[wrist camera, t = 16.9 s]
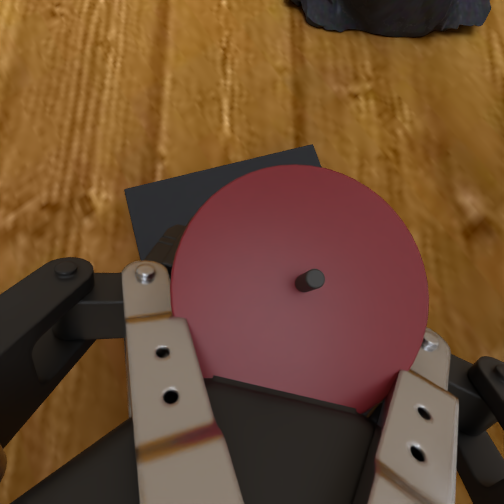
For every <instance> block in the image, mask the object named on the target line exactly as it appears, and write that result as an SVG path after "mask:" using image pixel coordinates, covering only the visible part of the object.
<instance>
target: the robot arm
mask: <svg viewBox="0 0 504 504" xmlns="http://www.w3.org/2000/svg"><path fill="white" fill-rule="evenodd" d="M193 217H194V216H192V217H191V219H192V218H193ZM191 219H190V220H189V222H190V221H191ZM189 222H188V223H187V224H186V226H183V225H178V224H177V225H175V226H172V227H170V228H168V229H167V230H166V232H165V233H164V234H163V236H162V237H161V238H160V240H159V241H158V243H156V245H155V246H154V247H153V249H152V250H151V251H150V253H149V254H148V255H147V256H146V258H145V259H144V260H143V261H136V262H133V263H131V264H129V265H127V266H126V267H125V268H124V269H123V271H122V272H121V273H94V271H93V266H92V265H91V263H90V262H88V261H86V260H84V259H81V258H75V257H67V258H60V259H56V260H53V261H50V262H48V263H46V264H45V265H43V266H42V267H40V268H39V269H37V270H36V271H34V272H33V273H31V274H30V275H29V276H27V277H26V278H24V279H23V280H21V281H20V282H18V283H17V284H15V285H14V286H12V287H11V288H9V289H8V290H6V291H5V292H4V293H2V294H1V295H0V482H1V480H2V478H3V476H4V473H5V470H6V464H7V459H6V455H5V452H4V450H3V448H4V447H5V446H6V445H7V444H8V443H9V441H10V440H11V439H12V438H13V437H14V436H15V434H16V433H17V432H18V431H19V430H20V429H21V427H22V426H23V425H24V424H25V423H26V421H27V420H28V419H29V418H30V417H31V416H32V414H33V413H34V412H35V411H36V410H37V409H38V407H39V406H40V405H41V404H42V403H43V402H44V400H45V399H46V398H47V397H48V396H49V395H50V393H51V392H52V391H53V390H54V389H55V387H56V386H57V385H58V384H59V383H60V382H61V380H62V379H63V378H64V377H65V376H66V375H67V373H68V372H69V371H70V370H71V369H72V368H73V366H74V365H75V364H76V363H77V362H78V360H79V359H80V358H81V357H82V356H83V355H84V353H85V352H86V351H87V350H88V349H89V348H90V346H91V345H92V344H93V343H94V342H95V341H96V339H112V338H124V349H125V364H126V379H127V398H128V415H129V419H127V420H126V421H124V422H123V423H122V424H120V425H119V426H117V427H116V428H115V429H113V430H112V431H110V432H109V433H108V434H106V435H105V436H104V437H102V438H101V439H99V440H98V441H97V442H95V443H94V444H92V445H91V446H90V447H88V448H87V449H85V450H84V451H83V452H81V453H80V454H78V455H77V456H76V457H74V458H73V459H71V460H70V461H69V462H67V463H66V464H64V465H63V466H62V467H60V468H59V469H58V470H56V471H55V472H53V473H52V474H51V475H49V476H48V477H46V478H45V479H44V480H42V481H41V482H39V483H38V484H37V485H35V486H34V487H32V488H31V489H30V490H28V491H27V492H25V493H24V494H23V495H21V496H20V497H18V498H17V499H16V500H14V501H13V502H12V503H10V504H455V487H456V469H457V471H458V473H459V475H460V477H461V479H462V481H463V483H464V485H465V487H466V490H467V492H468V494H469V496H470V498H471V500H472V502H473V504H504V459H503V458H502V456H501V454H500V453H499V451H498V450H497V448H496V446H495V445H494V443H493V441H492V440H491V438H490V437H489V435H488V433H487V432H486V430H487V429H488V428H489V427H491V426H492V425H493V424H495V423H496V422H497V421H498V422H499V424H500V425H501V427H502V428H503V430H504V363H503V362H502V361H500V360H497V359H495V358H492V357H487V356H484V357H481V358H479V359H478V360H477V361H476V362H475V363H474V364H471V363H469V362H467V361H465V360H463V359H461V358H458V357H456V356H454V355H452V354H451V351H450V348H449V346H448V344H447V343H446V342H445V340H444V339H443V338H442V337H441V336H439V335H438V334H437V333H435V332H434V331H432V330H431V329H429V328H427V327H426V331H425V334H424V338H423V341H422V344H421V348H420V350H419V352H418V354H417V356H416V359H415V361H414V363H413V365H412V366H411V368H410V369H409V371H405V370H402V369H400V371H399V373H398V375H397V376H396V378H395V380H394V382H393V384H392V386H391V388H390V390H389V392H388V394H387V396H386V398H384V399H383V400H382V401H381V402H380V403H379V404H377V405H375V406H374V407H372V408H371V409H369V410H368V411H366V412H365V413H362V414H360V413H358V412H357V410H356V408H352V407H348V406H344V405H339V404H335V403H331V402H326V401H322V400H318V399H314V398H309V397H305V396H301V395H297V394H292V393H288V392H284V391H279V390H275V389H271V388H267V387H262V386H258V385H254V384H250V383H245V382H241V381H237V380H232V379H228V378H224V377H220V376H215V375H213V378H203V376H202V372H201V369H200V365H199V361H198V358H197V354H196V351H195V347H194V344H193V340H192V337H191V333H190V330H189V326H188V322H187V319H186V318H182V317H177V316H173V315H172V310H171V302H170V281H171V271H172V266H173V261H174V257H175V253H176V250H177V247H178V245H179V242H180V240H181V237H182V235H183V233H184V231H185V229H186V228H187V226H188V224H189Z"/></svg>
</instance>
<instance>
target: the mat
mask: <svg viewBox="0 0 504 504" xmlns="http://www.w3.org/2000/svg"><path fill="white" fill-rule="evenodd" d="M295 164H296V165H310V166H316V167H321V165H320V162H319V160H318V157H317V154H316V152H315V149H314V146H313V144H312V145H307V146H303V147H299V148H295V149H291V150H286V151H282V152H278V153H274V154H270V155H266V156H261V157H257V158H253V159H249V160H245V161H241V162H236V163H232V164H228V165H224V166H220V167H215V168H211V169H207V170H203V171H199V172H195V173H190V174H186V175H182V176H178V177H174V178H170V179H165V180H161V181H157V182H153V183H149V184H144V185H140V186H136V187H132V188H128V189H125V190H124V191H125V195H126V200H127V204H128V208H129V213H130V217H131V221H132V225H133V230H134V234H135V238H136V243H137V247H138V251H139V256H140V260H141V261H143V260H144V259H145V258H146V256H147V255H148V254H149V253H150V251H151V250H152V249H153V247H154V246H155V245H156V243H158V241H159V240H160V238H161V237H162V236H163V234H164V233H165V232H166V230H167V229H168V228H170V227H172V226H175V225H177V224H178V225H183V226H186V224H187V223H188V222H189V220H190V219H191V217H192V216H194V215H195V214H196V212H197V211H198V210H199V208H200V207H201V206H202V205H203V204H204V203H205V202H206V201H207V200H208V199H209V198H210V197H211V196H212V195H213V194H215V193H216V192H217V191H218V190H220V189H221V188H222V187H224V186H225V185H227V184H229V183H230V182H232V181H233V180H235V179H237V178H239V177H241V176H244V175H246V174H248V173H250V172H253V171H257V170H260V169H263V168H267V167H273V166H279V165H295Z"/></svg>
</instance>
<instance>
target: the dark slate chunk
mask: <svg viewBox="0 0 504 504" xmlns="http://www.w3.org/2000/svg"><path fill="white" fill-rule="evenodd" d="M291 1H292V2H293V3H295V4H296V5H298V6H300V4H302V8H303V10H304V12H305V15H306V21H307V22H308V23H309V24H310V25H312V26H316V27H317V26H322V27H324V28H325V29H326V30H337V31H339V32H343V31H344V30H346V29H358V30H362V31H367V32H369V33H372V34H382V35H384V36H395V37H419V36H424V35H426V34H428V33H429V32H431V31H433V30H439V31H445V30H447V29H449V28H453V29H458V27H459V25H466V26H473V25H476V26H482V25H483V23H484V22H485V20H486V18H487V16H488V14H489V12H490V10H491V5H490V0H291Z"/></svg>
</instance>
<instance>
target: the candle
mask: <svg viewBox="0 0 504 504" xmlns="http://www.w3.org/2000/svg"><path fill="white" fill-rule="evenodd" d="M170 302H171V310H172V315H173V316H177V317H182V318H186V319H187V322H188V326H189V330H190V333H191V337H192V340H193V344H194V347H195V351H196V354H197V358H198V361H199V365H200V369H201V372H202V376H203V378H213V375H215V376H220V377H224V378H228V379H232V380H237V381H241V382H245V383H250V384H254V385H258V386H262V387H267V388H271V389H275V390H279V391H284V392H288V393H292V394H297V395H301V396H305V397H309V398H314V399H318V400H322V401H326V402H331V403H335V404H339V405H344V406H348V407H352V408H356V410H357V412H358V413H360V414H362V413H365V412H366V411H368V410H369V409H371V408H372V407H374V406H375V405H377V404H379V403H380V402H381V401H382V400H383V399H384V398H386V396H387V394H388V392H389V390H390V388H391V386H392V384H393V382H394V380H395V378H396V376H397V375H398V373H399V371H400V369H402V370H405V371H409V369H410V368H411V366H412V365H413V363H414V361H415V359H416V356H417V354H418V352H419V350H420V348H421V344H422V341H423V338H424V334H425V331H426V325H427V319H428V306H429V295H428V284H427V277H426V273H425V268H424V264H423V261H422V258H421V255H420V253H419V250H418V247H417V245H416V243H415V241H414V239H413V237H412V235H411V233H410V232H409V230H408V229H407V227H406V226H405V224H404V222H403V221H402V220H401V218H400V217H399V216H398V215H397V214H396V212H395V211H394V210H393V209H392V208H391V207H390V206H389V205H388V204H387V203H386V202H385V201H384V200H383V199H382V198H381V197H380V196H379V195H377V194H376V193H375V192H373V191H372V190H371V189H369V188H368V187H366V186H365V185H363V184H361V183H360V182H358V181H356V180H355V179H353V178H350V177H348V176H346V175H344V174H341V173H339V172H336V171H332V170H329V169H326V168H321V167H316V166H310V165H296V164H295V165H279V166H273V167H267V168H263V169H260V170H257V171H253V172H250V173H248V174H246V175H244V176H241V177H239V178H237V179H235V180H233V181H232V182H230V183H229V184H227V185H225V186H224V187H222V188H221V189H220V190H218V191H217V192H216V193H215V194H213V195H212V196H211V197H210V198H209V199H208V200H207V201H206V202H205V203H204V204H203V205H202V206H201V207H200V208H199V210H198V211H197V212H196V214H195V215H194V217H193V218H192V219H191V221H190V222H189V224H188V226H187V228H186V229H185V231H184V233H183V235H182V237H181V240H180V242H179V245H178V247H177V250H176V253H175V257H174V261H173V266H172V271H171V281H170Z"/></svg>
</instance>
